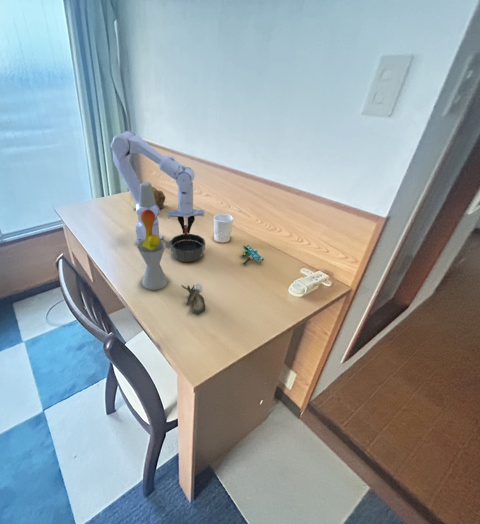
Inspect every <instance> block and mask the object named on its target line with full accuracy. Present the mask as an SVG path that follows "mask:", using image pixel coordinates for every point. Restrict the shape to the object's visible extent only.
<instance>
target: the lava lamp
mask: <svg viewBox="0 0 480 524" xmlns="http://www.w3.org/2000/svg"><path fill="white" fill-rule="evenodd" d="M152 187H153V186H152V183H151V182H149V181H143V182H141V184H140V199H139V206H141V207H146V208H147V207H152V206H155V205H156V202H155V198H154V194H153V190H152ZM141 220H142V222H143V224H144V226H145V229H146V238H145V240H143V241H141V242H139V243H138V244H136V245H137V246H136V248H137V250H138V252H139V253H140V255H141V258H142V260H143V261H144V263H145V264H146V266H145V270H144V275H143V279H142V286H143V287H144V288H145V289H146V290H150V291H151V290H152V291H155V290H157V291H158V290H160V289H163V288H165V287H166V286H167V284H168V279H167V277H166V274H165V273H164V270H163V268H162V266H161V261H162V258H163V254H164V252H165V250H166V249H165V248H166V242H165V241H164V240H162V239H159V237H158V236H157V235H153V234H152V227H153V223H154V220H155V214H154V213H153V212H152V211H151V210H145V211H143V212H142V214H141Z"/></svg>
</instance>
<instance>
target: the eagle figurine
mask: <svg viewBox="0 0 480 524" xmlns="http://www.w3.org/2000/svg"><path fill="white" fill-rule="evenodd" d="M181 288H183V289H184V290H186V291H187V292H188V293H189V294H188V297H187V301H186V306H188V305H189V304H191V303H192V301H193V308H192V313H193V314H194V315H196V316H197V315H198V316H199V315H201V314H202V313H203V312H204V311H205V310H206V303H205V299H204V297H203V295H201V294H200V293H202V292H203V285H202V284H201V283H196V285H195V284H193V285H192V287H190V285H187V286H184V285H183V284H181Z"/></svg>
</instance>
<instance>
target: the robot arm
mask: <svg viewBox="0 0 480 524" xmlns="http://www.w3.org/2000/svg"><path fill="white" fill-rule="evenodd" d="M110 148H111V151H112V159H113V163H114V166H115V167H116V169H117V172H118V173H119V175H120V177H121V178H122V180H123V182H124V184H125V186H126V188H127V190H128V191H129V192H130V193H131V195H132V197H133V199H134V201H135V202H136V209H135V212H136V214H137V219H138V221H136V224H135V234H136V235H135V236H136V245H138V243H139V242H141V241H143V240H145V238H146V229H145V226H144V224H143V222H142V220H141V214H142V212H143V211H145V210H151V211H152V212H153V213H154V214H155V220H154V223H153V227H152V234H153V235H157V236H158V237H159V239H161V240H162V239H163V236H162V235H160V225H159V218H158V216H159V215H160V209H159V207H158V206H157V205H155V206H152V207H147V208H146V207H141V206H139V199H140V184H141V183H142V182H141V180H140V179H139V177H138V175H137V173H136V172H135V170H134V168H133V165H132V164H131V161H130V158H131V156H132V154H141V155H143V156H144V157H146V158H147V159H149V160H151V161H153V163H155V164H157V165H158V167H159V170H160V171H162V172H163V173H165V174H166V175H167V176H168V177H169V178H171V179H173V180H175V184H176V185H177V202H178V205H177V206H178V209H176V210H170V211H167V212H166V213H167V219H171V218H177V221H178V224H179V225H180V227H181V230H182V234H185V230H184V225H185V219H187V228H188V234H191V233H190V232H191V228H192V226H193V224H194V222H195V220H196V217H205V209H194V182H193V181H194V180H195V177H196V176H195V171H194V170H193V169H192V168H191V167H190V166H186V165H184V164H181V163H180V162H178V161H177V160H176V157H174V156H170V155H163V154H162V153H161V152H159V151H158V150H157V149H155V148H154V147H153V146H151V145H150V144H149V143H147V142H146V141H145V140H144V139H143V138H142V137H141V136H140V135H138V134H136V133H135V132H134V131H132V130H126V131H124V132H122V133H120V134H116V135H115V136H114V137H113V138H112V140H111V144H110ZM140 182H141V183H140Z"/></svg>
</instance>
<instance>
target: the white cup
mask: <svg viewBox="0 0 480 524" xmlns="http://www.w3.org/2000/svg"><path fill="white" fill-rule="evenodd" d="M233 221H234V216H232V215H231V214H228V213H217V214H215V215H214V216H213V239H214V242H217V243H227V242H229V241H230V239H231V233H232V229H233V223H234V222H233Z"/></svg>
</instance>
